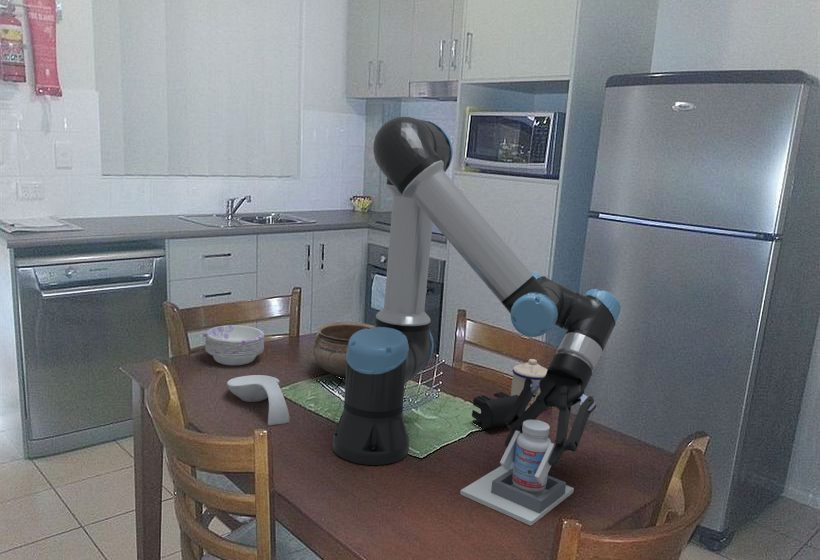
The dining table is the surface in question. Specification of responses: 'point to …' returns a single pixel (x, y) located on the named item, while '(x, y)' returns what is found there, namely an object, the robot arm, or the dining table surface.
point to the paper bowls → (234, 344)
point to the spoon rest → (262, 395)
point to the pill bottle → (530, 455)
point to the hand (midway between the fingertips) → (521, 473)
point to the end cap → (492, 410)
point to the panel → (516, 495)
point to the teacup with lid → (527, 371)
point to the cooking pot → (335, 345)
